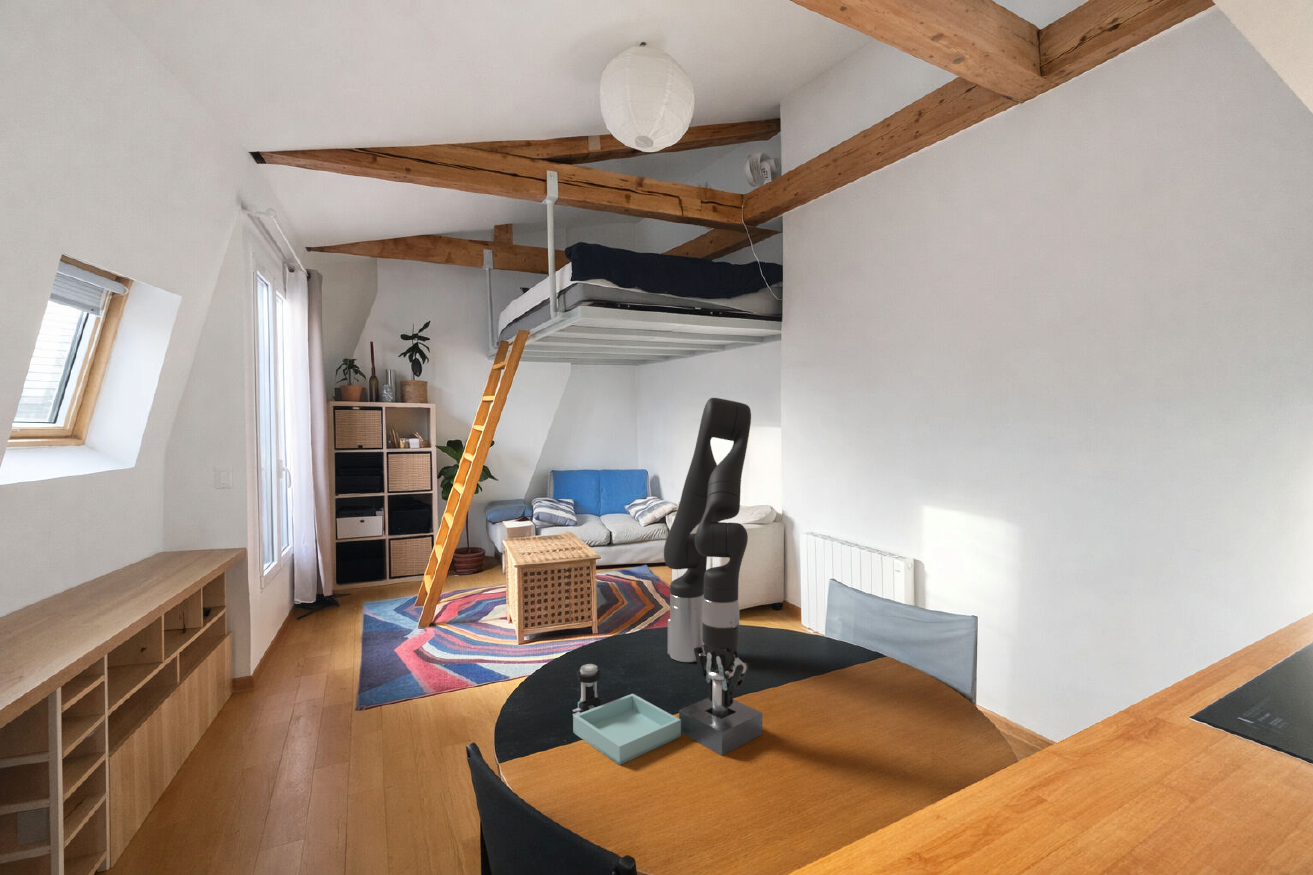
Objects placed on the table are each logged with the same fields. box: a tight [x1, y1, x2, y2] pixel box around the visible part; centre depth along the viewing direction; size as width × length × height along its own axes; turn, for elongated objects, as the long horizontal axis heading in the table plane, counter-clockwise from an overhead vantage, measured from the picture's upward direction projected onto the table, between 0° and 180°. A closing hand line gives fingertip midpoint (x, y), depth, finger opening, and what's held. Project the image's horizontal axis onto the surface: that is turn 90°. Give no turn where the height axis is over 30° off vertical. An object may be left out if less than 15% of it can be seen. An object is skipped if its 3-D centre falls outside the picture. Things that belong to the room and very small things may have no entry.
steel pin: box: [708, 669, 731, 719], centre depth 125 cm, size 5×5×12 cm
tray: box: [572, 693, 682, 766], centre depth 125 cm, size 16×16×4 cm
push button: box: [572, 663, 602, 717], centre depth 134 cm, size 7×5×10 cm
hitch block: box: [678, 696, 763, 756], centre depth 125 cm, size 12×12×4 cm
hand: (720, 702), depth 125 cm, fingers closed on steel pin, 3 cm apart
